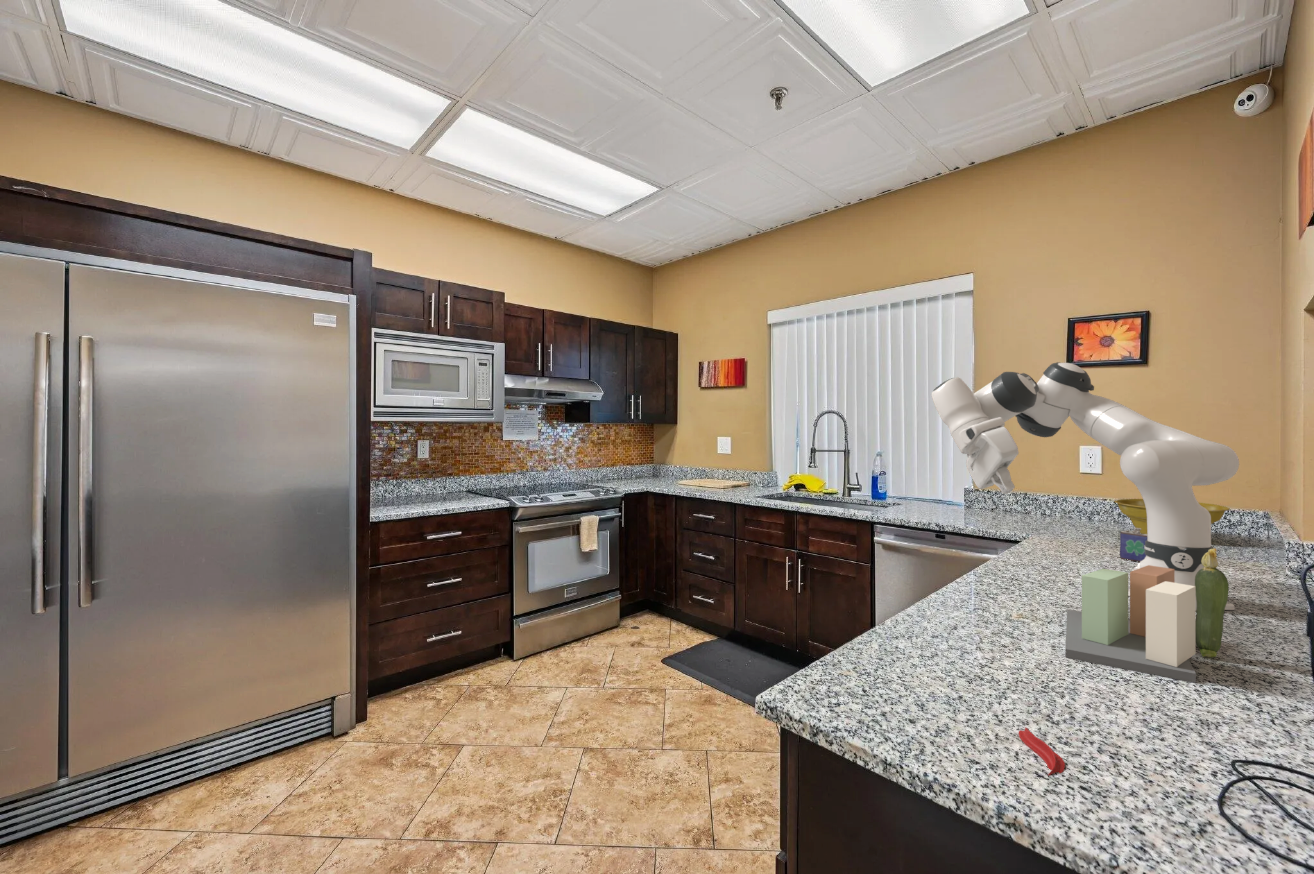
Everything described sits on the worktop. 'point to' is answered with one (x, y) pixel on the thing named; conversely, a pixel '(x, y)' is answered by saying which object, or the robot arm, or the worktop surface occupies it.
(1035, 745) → the cayenne pepper
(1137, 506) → the planter bowl
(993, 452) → the robot arm
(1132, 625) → the terracotta block
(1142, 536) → the flask
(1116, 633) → the sage green block
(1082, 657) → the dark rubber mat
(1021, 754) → the worktop surface
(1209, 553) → the vegetable
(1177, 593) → the cream block
